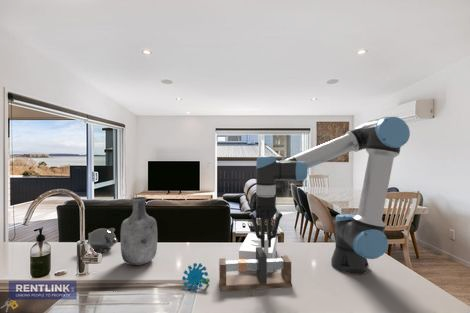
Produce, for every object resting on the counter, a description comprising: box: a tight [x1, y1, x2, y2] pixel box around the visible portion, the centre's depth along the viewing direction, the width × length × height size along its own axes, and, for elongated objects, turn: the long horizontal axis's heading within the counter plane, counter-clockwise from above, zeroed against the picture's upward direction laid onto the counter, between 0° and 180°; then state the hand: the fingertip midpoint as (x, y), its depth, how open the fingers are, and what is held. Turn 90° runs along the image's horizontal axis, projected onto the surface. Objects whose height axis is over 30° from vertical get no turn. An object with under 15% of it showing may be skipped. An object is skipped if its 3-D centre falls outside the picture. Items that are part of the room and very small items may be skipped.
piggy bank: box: [87, 227, 119, 254], centre depth 138 cm, size 11×15×12 cm
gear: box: [181, 262, 211, 291], centre depth 103 cm, size 11×6×10 cm
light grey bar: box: [226, 257, 284, 273], centre depth 104 cm, size 25×3×3 cm, turn 95°
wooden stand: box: [218, 255, 293, 292], centre depth 104 cm, size 27×10×9 cm, turn 95°
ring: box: [255, 247, 268, 284], centre depth 104 cm, size 2×10×10 cm, turn 5°
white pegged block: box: [238, 231, 277, 273], centre depth 126 cm, size 14×25×11 cm, turn 167°
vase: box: [120, 196, 158, 266], centre depth 123 cm, size 16×16×30 cm
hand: (265, 255), depth 104 cm, fingers closed
